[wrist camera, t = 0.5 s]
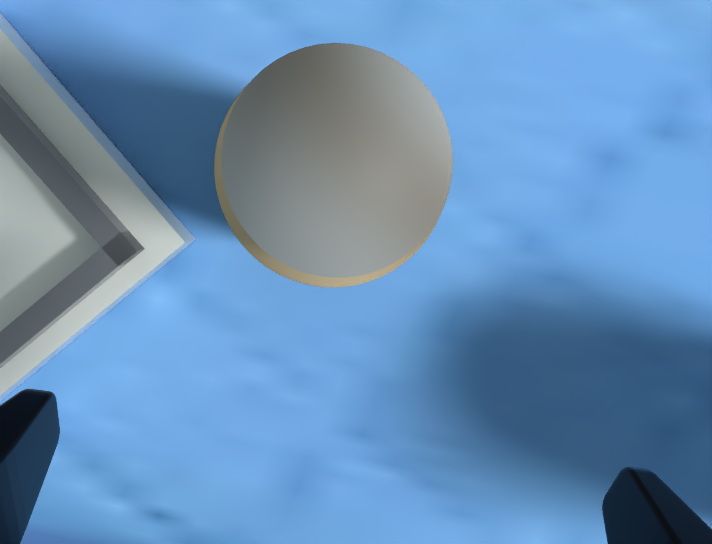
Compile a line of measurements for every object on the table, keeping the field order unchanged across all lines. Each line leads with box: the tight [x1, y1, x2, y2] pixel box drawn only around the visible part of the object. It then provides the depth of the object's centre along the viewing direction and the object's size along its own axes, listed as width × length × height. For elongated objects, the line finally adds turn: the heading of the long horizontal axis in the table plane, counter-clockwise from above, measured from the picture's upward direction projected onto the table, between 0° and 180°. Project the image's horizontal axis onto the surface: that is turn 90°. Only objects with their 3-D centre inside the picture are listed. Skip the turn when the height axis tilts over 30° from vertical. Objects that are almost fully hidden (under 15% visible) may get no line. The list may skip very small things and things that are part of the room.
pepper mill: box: [214, 43, 453, 287], centre depth 17 cm, size 5×5×12 cm
